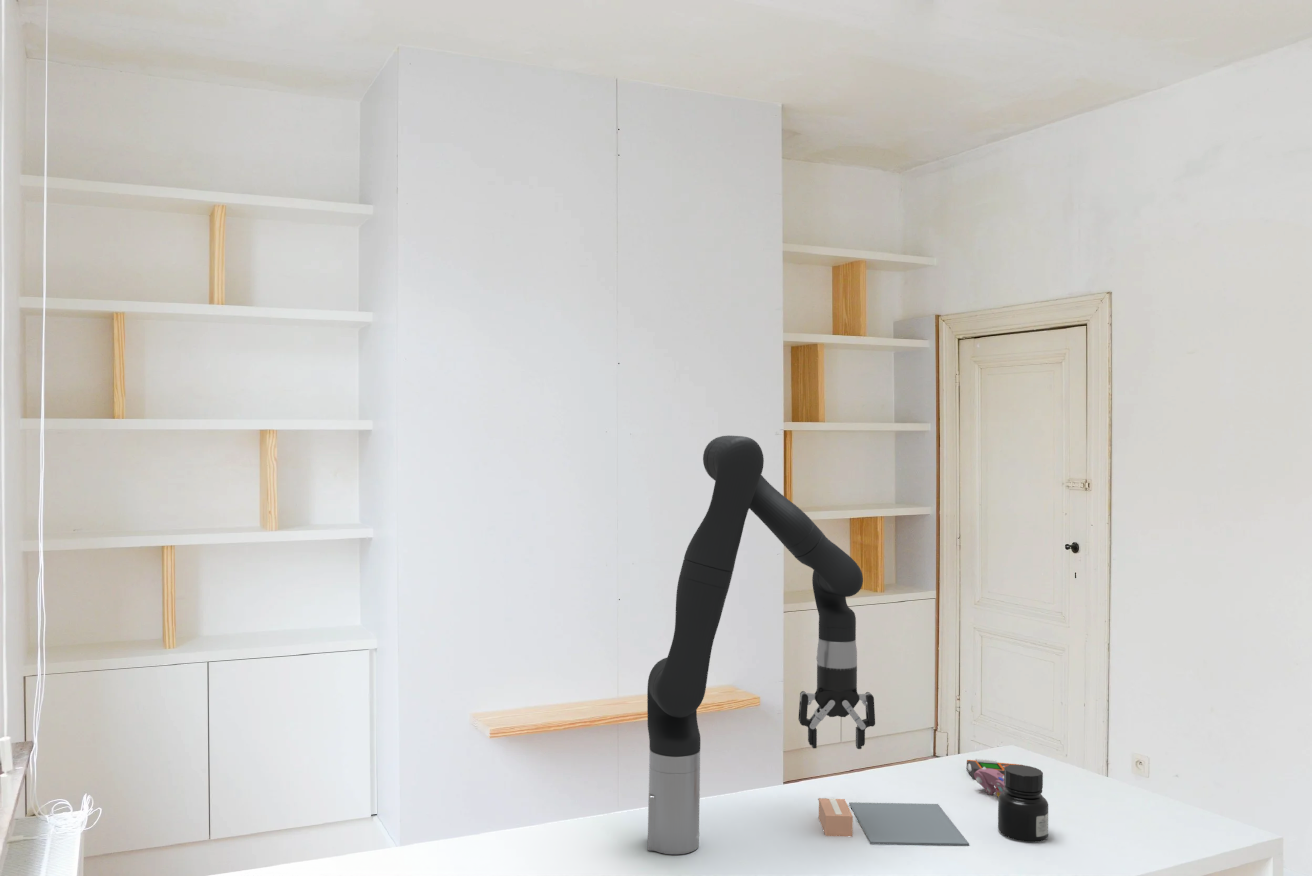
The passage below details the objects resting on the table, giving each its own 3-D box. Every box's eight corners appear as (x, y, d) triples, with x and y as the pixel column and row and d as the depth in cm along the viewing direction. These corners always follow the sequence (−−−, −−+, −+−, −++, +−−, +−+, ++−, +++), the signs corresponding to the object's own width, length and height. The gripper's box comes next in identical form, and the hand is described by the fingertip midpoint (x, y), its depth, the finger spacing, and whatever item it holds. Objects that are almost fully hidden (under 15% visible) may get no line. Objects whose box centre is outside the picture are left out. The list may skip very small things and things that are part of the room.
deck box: (825, 837, 181) (825, 814, 181) (818, 818, 190) (818, 797, 190) (852, 837, 181) (852, 815, 181) (844, 819, 190) (844, 797, 190)
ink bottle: (1052, 846, 177) (1053, 780, 178) (1002, 842, 179) (1002, 776, 179) (1042, 826, 187) (1043, 764, 187) (994, 822, 189) (995, 760, 189)
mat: (870, 844, 177) (870, 841, 177) (849, 804, 197) (849, 802, 197) (969, 845, 177) (969, 843, 177) (937, 805, 197) (937, 803, 197)
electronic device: (1042, 773, 212) (972, 766, 214) (1041, 786, 212) (971, 780, 214) (1033, 763, 219) (965, 757, 220) (1032, 776, 219) (964, 770, 220)
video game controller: (978, 796, 207) (967, 769, 206) (992, 784, 209) (981, 757, 208) (1013, 812, 198) (1001, 783, 197) (1028, 799, 200) (1016, 771, 199)
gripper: (802, 666, 182) (801, 753, 182) (878, 667, 182) (878, 754, 182) (796, 658, 190) (796, 741, 189) (870, 658, 189) (869, 742, 189)
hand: (836, 747), depth 185 cm, fingers open, 8 cm apart
